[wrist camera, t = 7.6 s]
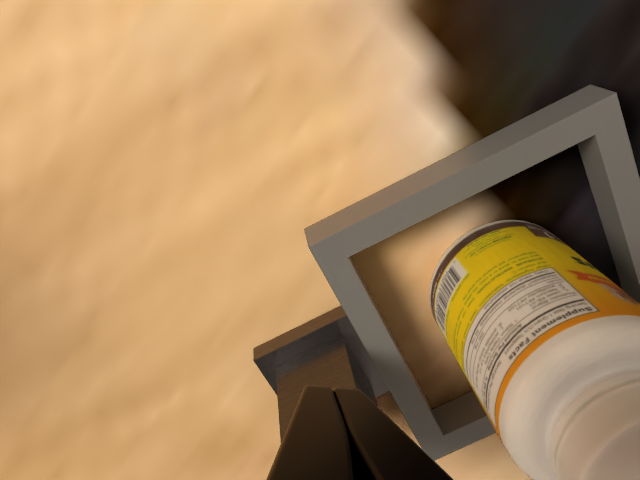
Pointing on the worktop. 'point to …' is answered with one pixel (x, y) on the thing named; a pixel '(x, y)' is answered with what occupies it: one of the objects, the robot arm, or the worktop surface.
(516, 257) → the supplement bottle
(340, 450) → the robot arm
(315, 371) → the clip post
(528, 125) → the collar
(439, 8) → the worktop surface
